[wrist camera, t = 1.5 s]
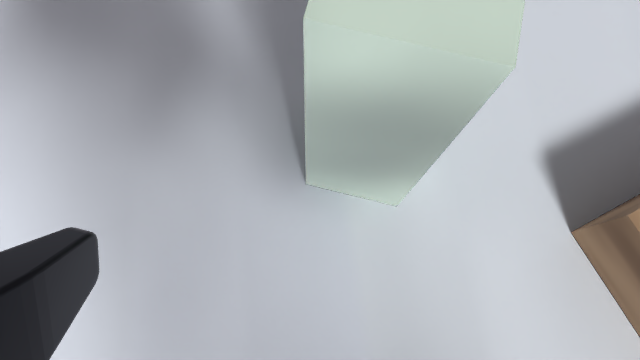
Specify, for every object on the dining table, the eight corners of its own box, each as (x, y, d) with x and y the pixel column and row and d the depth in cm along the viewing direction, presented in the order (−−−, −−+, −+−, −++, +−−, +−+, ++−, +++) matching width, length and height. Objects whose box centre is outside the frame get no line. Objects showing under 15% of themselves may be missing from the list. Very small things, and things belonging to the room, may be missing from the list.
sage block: (397, 206, 22) (515, 67, 9) (305, 183, 22) (303, 18, 10) (414, 121, 23) (539, -100, 11) (327, 101, 23) (351, -141, 11)
